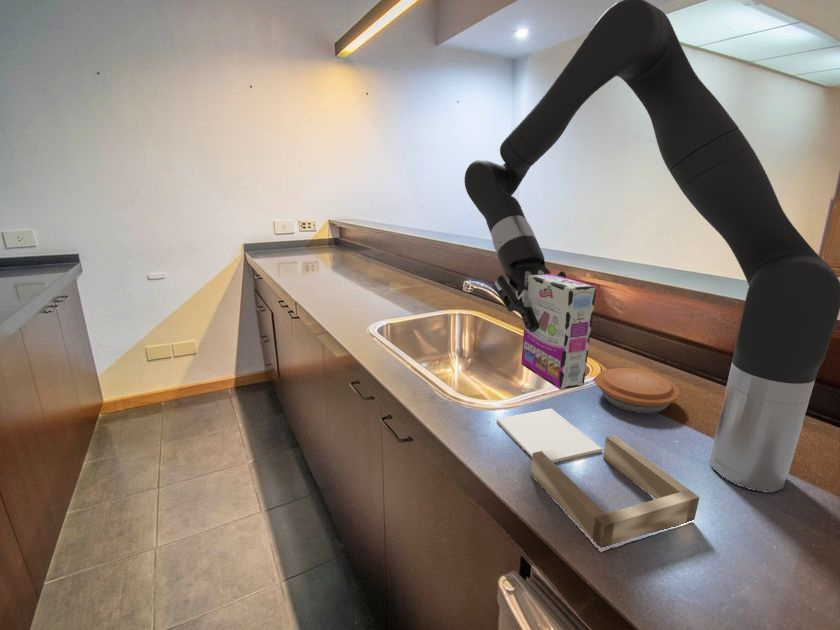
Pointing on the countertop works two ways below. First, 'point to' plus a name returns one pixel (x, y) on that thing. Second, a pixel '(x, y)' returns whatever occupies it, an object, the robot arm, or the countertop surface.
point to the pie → (636, 390)
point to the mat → (548, 435)
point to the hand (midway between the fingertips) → (549, 328)
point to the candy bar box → (559, 329)
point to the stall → (626, 523)
